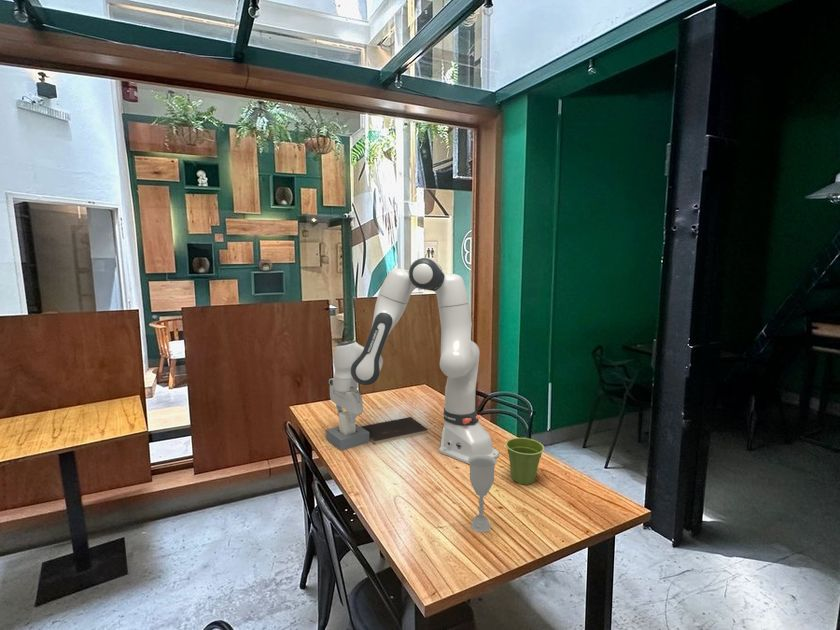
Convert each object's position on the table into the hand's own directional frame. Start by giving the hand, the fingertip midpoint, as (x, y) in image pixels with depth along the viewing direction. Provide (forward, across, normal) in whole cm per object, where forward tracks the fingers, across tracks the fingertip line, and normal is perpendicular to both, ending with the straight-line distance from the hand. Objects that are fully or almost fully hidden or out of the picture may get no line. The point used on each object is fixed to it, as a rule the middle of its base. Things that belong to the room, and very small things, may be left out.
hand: (346, 419), depth 163 cm
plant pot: (+8, -60, -32) cm, 68 cm away
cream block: (+9, -1, 0) cm, 9 cm away
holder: (+9, -1, 0) cm, 9 cm away
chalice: (+8, -69, -4) cm, 69 cm away
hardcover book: (+9, -4, -19) cm, 22 cm away
